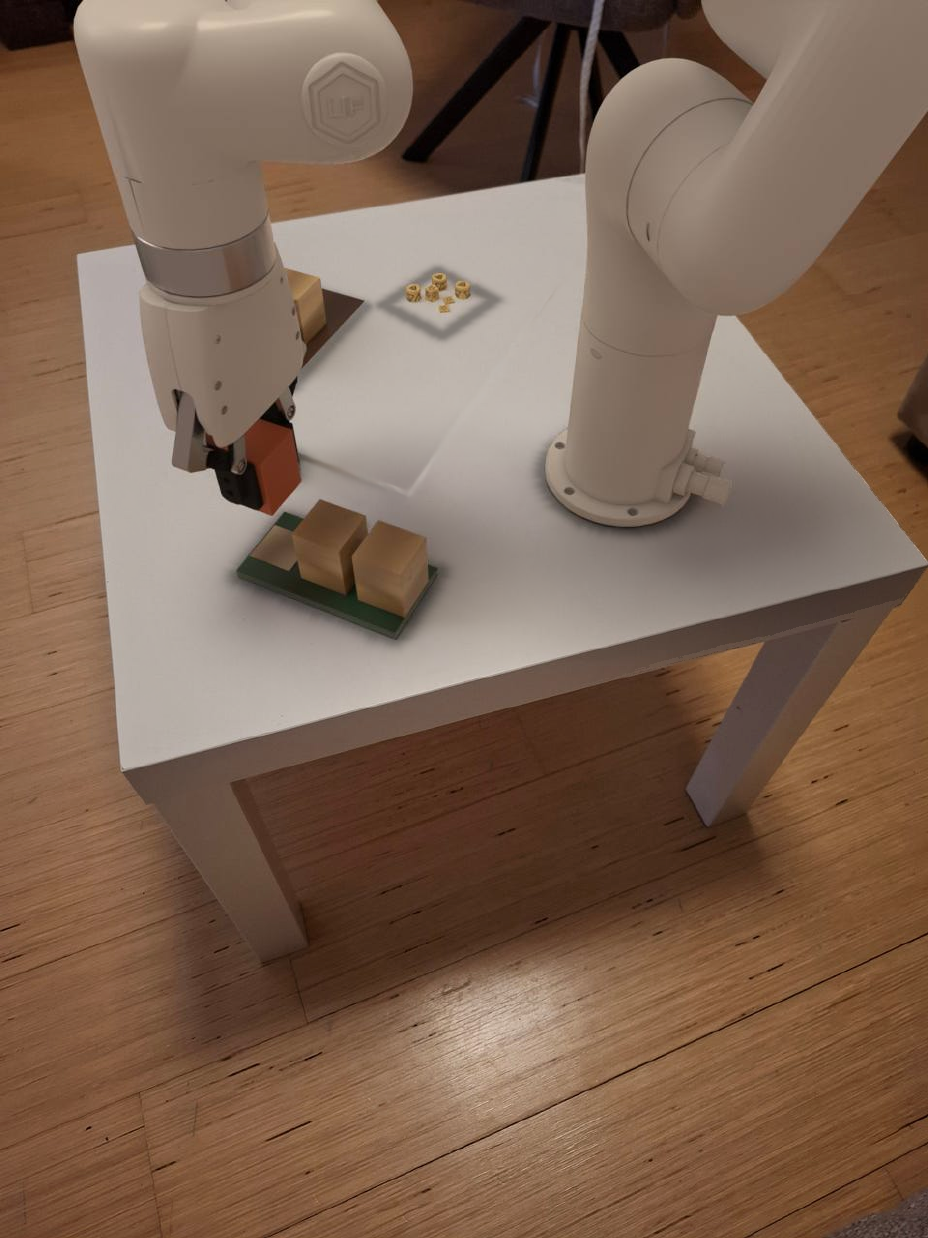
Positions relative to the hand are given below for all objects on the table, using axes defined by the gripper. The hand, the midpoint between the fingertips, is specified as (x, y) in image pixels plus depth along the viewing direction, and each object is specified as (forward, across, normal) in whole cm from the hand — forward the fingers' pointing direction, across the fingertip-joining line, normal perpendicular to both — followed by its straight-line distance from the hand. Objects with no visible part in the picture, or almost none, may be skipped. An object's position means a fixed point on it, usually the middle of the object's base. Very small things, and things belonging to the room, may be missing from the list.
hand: (261, 479), depth 66 cm
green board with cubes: (+8, 0, +5) cm, 10 cm away
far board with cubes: (+8, -25, -14) cm, 30 cm away
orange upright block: (+1, 0, 0) cm, 1 cm away
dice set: (+8, -36, -4) cm, 37 cm away
